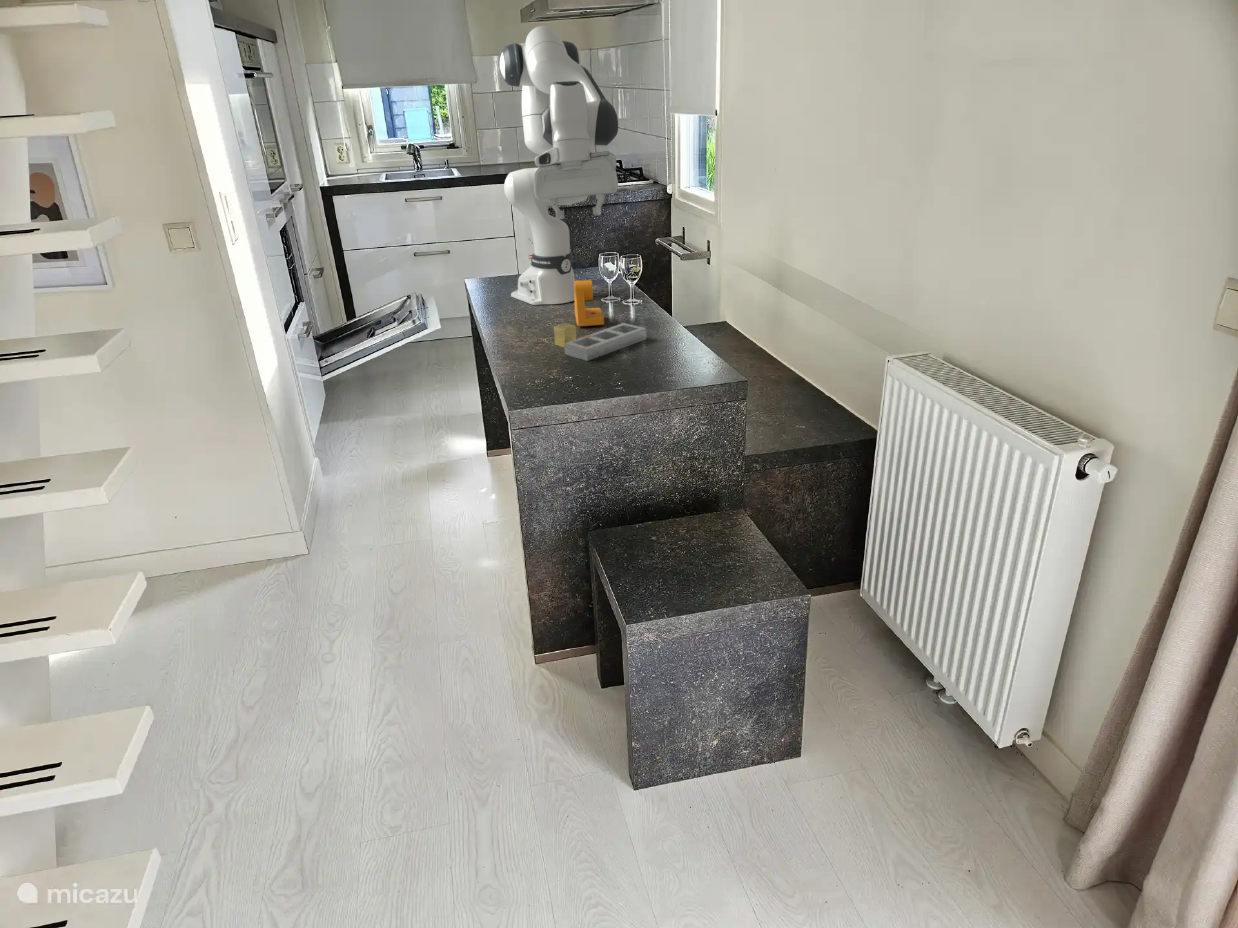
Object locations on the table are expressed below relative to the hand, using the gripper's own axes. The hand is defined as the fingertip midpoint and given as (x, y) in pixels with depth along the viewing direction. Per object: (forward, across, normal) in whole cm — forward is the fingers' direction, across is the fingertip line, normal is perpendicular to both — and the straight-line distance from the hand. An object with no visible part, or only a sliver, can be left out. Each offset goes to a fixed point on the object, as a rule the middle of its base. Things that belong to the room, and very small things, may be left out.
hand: (578, 217), depth 193 cm
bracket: (+27, +11, -30) cm, 42 cm away
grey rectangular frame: (+32, 0, -10) cm, 34 cm away
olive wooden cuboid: (+31, +11, -10) cm, 34 cm away
